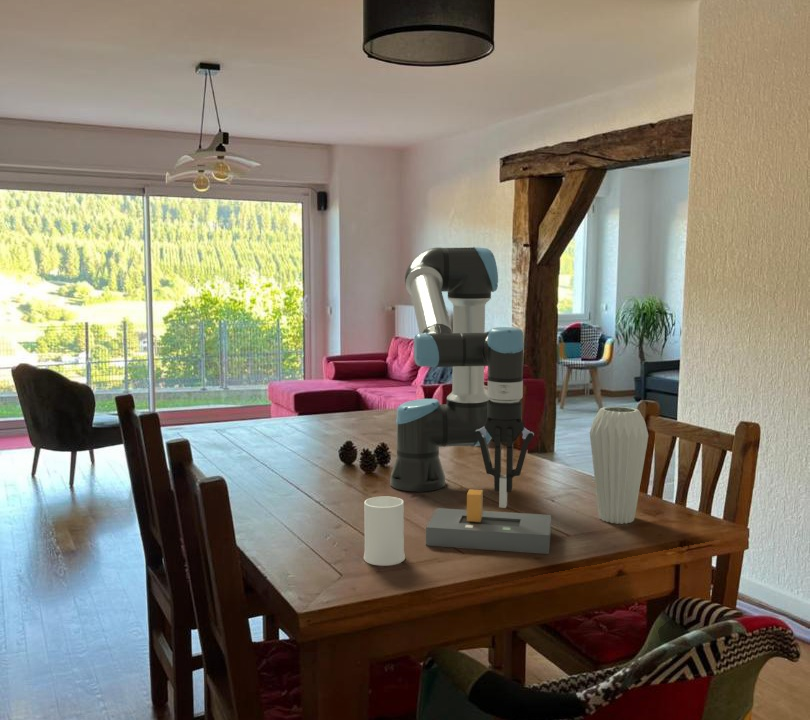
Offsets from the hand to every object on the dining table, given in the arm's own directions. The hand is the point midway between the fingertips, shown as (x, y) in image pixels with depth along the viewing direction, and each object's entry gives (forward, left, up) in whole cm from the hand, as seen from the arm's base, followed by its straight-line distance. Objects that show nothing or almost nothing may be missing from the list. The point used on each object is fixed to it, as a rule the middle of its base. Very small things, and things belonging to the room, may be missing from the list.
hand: (503, 505), depth 173 cm
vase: (+25, +19, -8) cm, 33 cm away
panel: (-3, -1, -8) cm, 8 cm away
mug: (-24, -16, -8) cm, 29 cm away
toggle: (-6, -1, -4) cm, 7 cm away
